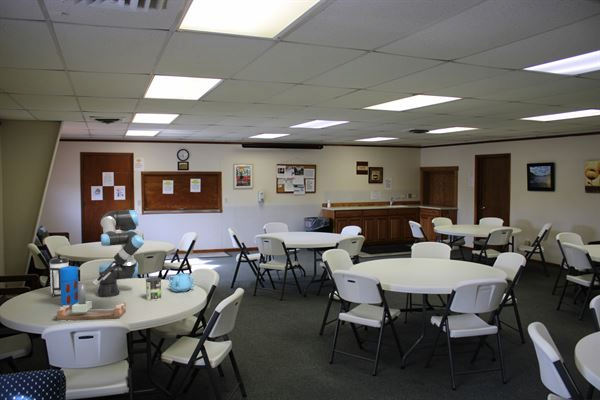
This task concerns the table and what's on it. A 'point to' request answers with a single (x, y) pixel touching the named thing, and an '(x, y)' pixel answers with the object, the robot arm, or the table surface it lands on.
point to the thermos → (69, 285)
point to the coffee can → (153, 289)
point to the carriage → (81, 301)
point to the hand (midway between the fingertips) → (98, 281)
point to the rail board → (92, 317)
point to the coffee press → (56, 273)
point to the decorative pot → (181, 282)
